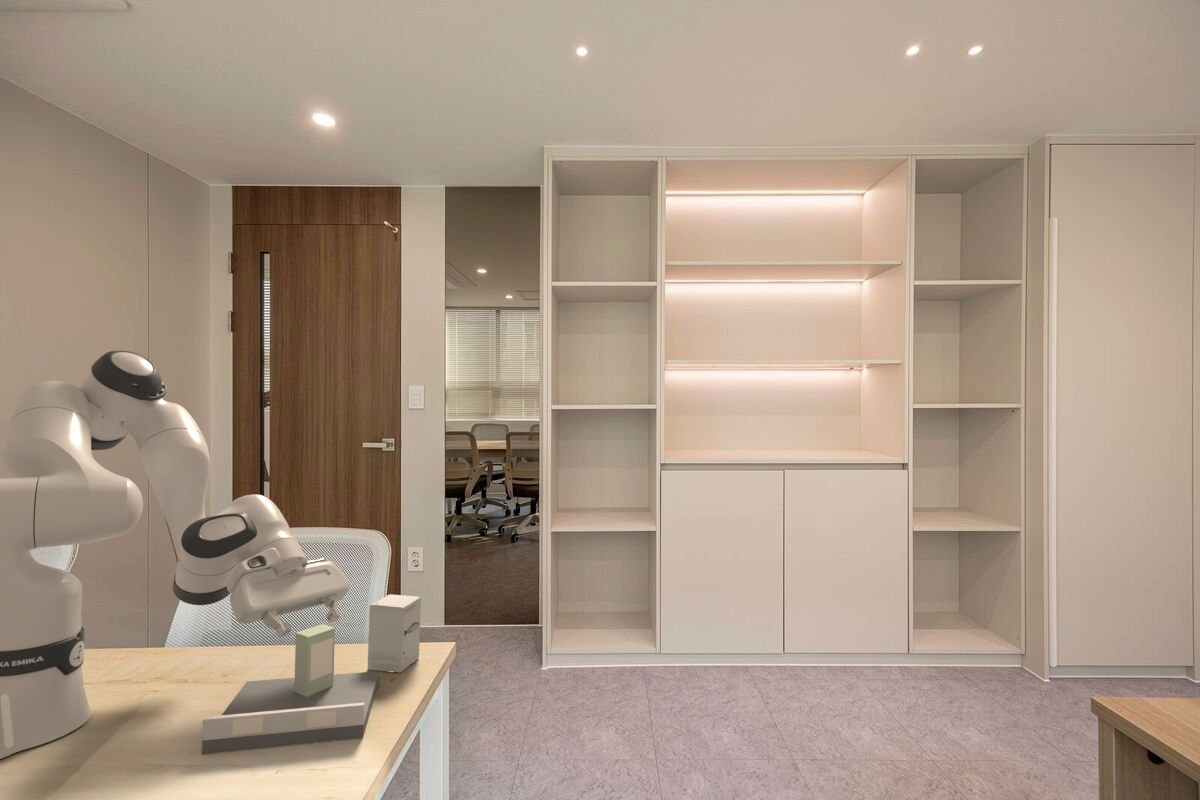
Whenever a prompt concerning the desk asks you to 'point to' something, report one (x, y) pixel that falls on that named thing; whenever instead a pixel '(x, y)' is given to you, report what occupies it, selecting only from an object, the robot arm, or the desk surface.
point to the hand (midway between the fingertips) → (311, 626)
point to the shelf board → (291, 714)
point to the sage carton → (314, 660)
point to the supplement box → (394, 633)
